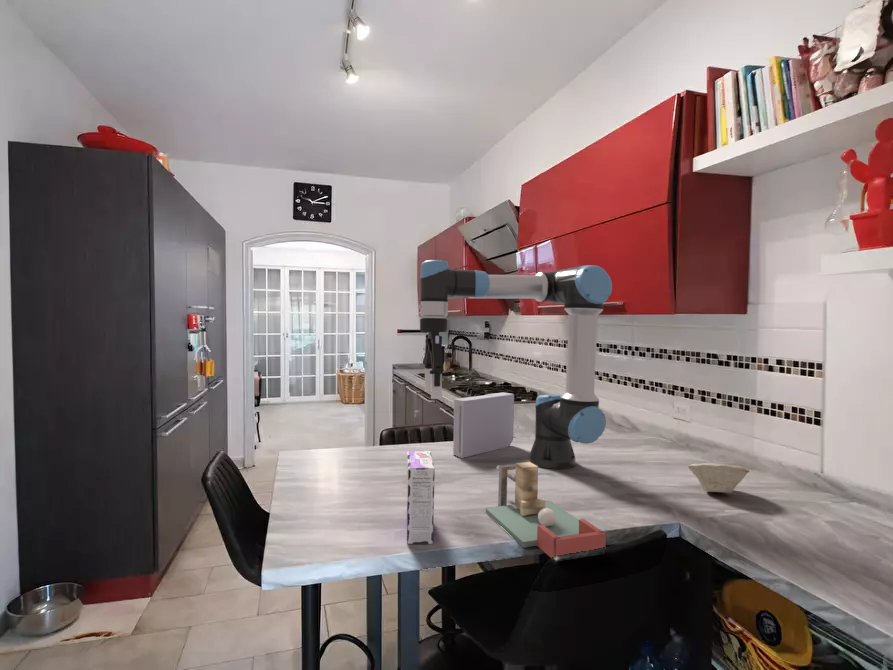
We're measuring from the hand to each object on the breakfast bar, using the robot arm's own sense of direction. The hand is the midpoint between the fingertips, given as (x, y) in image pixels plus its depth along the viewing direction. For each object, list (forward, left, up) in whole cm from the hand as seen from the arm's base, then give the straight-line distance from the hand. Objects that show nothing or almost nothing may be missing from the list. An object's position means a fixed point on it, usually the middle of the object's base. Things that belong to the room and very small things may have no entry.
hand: (432, 394), depth 137 cm
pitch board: (-17, +28, -27) cm, 43 cm away
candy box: (+10, +24, -27) cm, 37 cm away
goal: (-17, +42, -27) cm, 53 cm away
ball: (-17, +32, -24) cm, 44 cm away
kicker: (-17, +16, -25) cm, 35 cm away
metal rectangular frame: (-17, +15, -27) cm, 35 cm away
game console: (-31, -37, -27) cm, 55 cm away
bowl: (-77, +24, -27) cm, 85 cm away
